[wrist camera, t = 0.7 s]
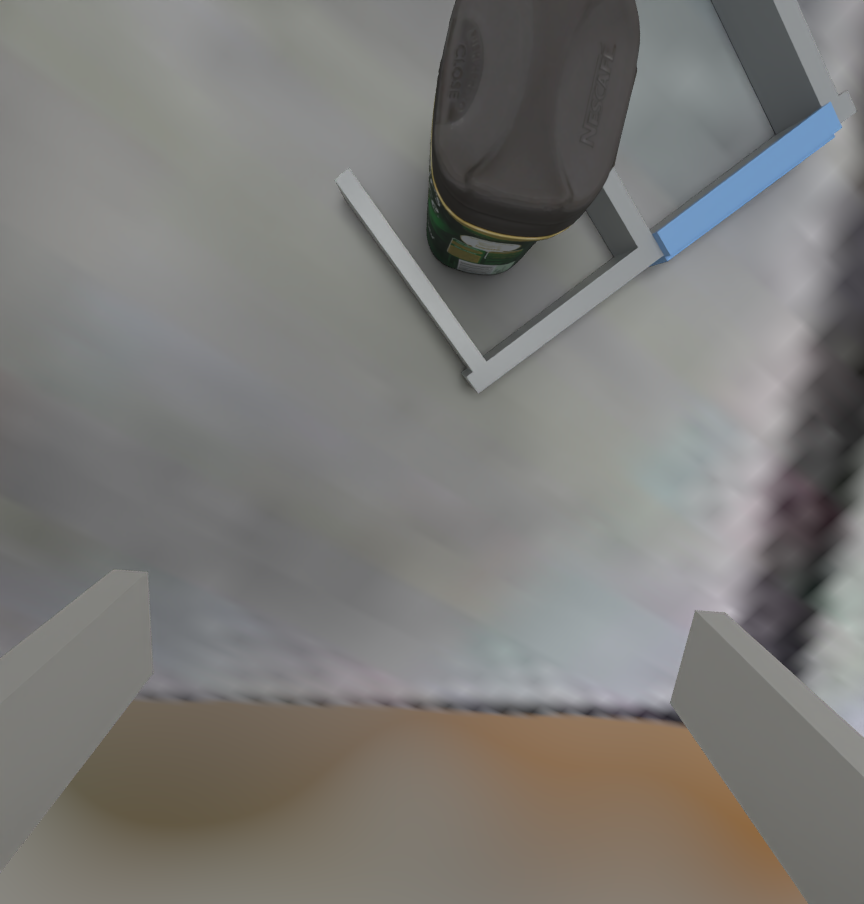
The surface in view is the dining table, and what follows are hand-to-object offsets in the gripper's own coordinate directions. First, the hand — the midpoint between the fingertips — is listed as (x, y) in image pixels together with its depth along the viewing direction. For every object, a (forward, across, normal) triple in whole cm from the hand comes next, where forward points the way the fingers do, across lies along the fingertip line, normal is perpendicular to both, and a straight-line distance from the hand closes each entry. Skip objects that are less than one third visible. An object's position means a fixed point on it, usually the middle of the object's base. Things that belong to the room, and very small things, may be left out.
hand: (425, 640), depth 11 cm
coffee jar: (+28, +3, +17) cm, 33 cm away
